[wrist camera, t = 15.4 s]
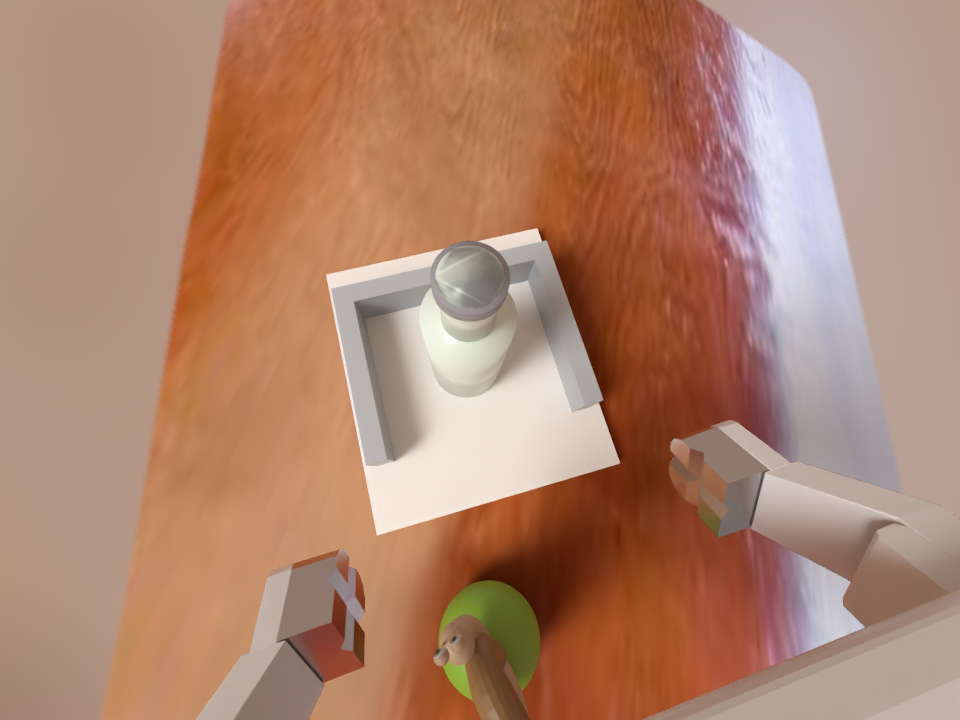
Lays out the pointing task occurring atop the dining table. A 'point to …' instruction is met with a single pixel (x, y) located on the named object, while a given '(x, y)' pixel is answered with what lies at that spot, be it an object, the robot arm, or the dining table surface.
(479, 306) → the pale green bottle
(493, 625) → the snail figurine
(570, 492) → the dining table surface
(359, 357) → the u stand
